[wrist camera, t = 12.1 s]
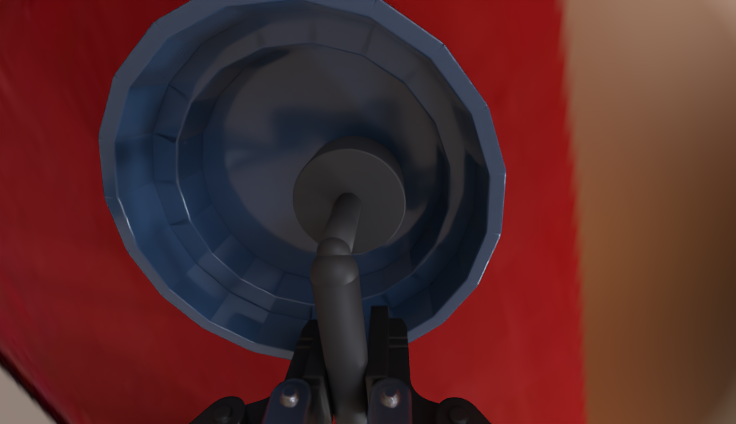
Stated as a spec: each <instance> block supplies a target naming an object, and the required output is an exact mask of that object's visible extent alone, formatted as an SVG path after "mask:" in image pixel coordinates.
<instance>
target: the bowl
mask: <svg viewBox="0 0 736 424" xmlns="http://www.w3.org/2000/svg"><path fill="white" fill-rule="evenodd" d="M346 136H361V137H366V138H370V139H372V140H375V141H377V142H378V143H380V144H382V145H383V146H385V147H386V148H387V149H388V150H389V151H390V152H391V153H392V154H393V155H394V157H395V158H396V159H397V161H398V163H399V165H400V167H401V170H402V173H403V179H404V189H405V199H406V209H405V214H404V218H403V221H402V223H401V225H400V227H399V229H398V230H397V232H396V233H395V234H394V235H393V236H392V238H391V239H389V240H388V241H387V242H386V243H384V244H383V245H381V246H380V247H378V248H376V249H373V250H370V251H368V252H363V253H355V254H351V255H352V257H353V258H354V259H355V261H356V263H357V265H358V270H359V279H360V288H361V297H362V307H363V316H364V325H365V335H366V344H367V350H368V338H369V325H370V313H371V306H380V305H388V306H389V318H402V320H403V321H404V323H405V324H406V326H407V334H408V343H410V342H412V341H414V340H415V339H417V338H419V337H421V336H422V335H424V334H426V333H427V332H429V331H431V330H433V329H434V328H436V327H438V326H439V325H441V324H442V323H444V322H445V321H446V320H447V318H448V317H449V316H450V315H451V314H452V313H453V312H454V311H455V310H456V309H457V308H458V307H459V305H460V304H461V303H462V302H463V301H464V300H465V299H466V298H467V297H468V296H469V295H470V294H471V292H472V291H473V290H474V289H475V288H476V287H477V286H478V284H479V282H480V280H481V278H482V276H483V274H484V271H485V269H486V267H487V265H488V262H489V260H490V258H491V256H492V253H493V251H494V249H495V247H496V245H497V242H498V240H499V238H500V236H501V234H500V233H501V232H502V220H503V208H504V195H505V183H506V168H505V165H504V161H503V157H502V154H501V150H500V146H499V143H498V139H497V136H496V132H495V128H494V125H493V121H492V117H491V114H490V110H489V107H488V106H487V103H486V102H485V100H484V99H483V98H482V96H481V95H480V93H479V92H478V91H477V89H476V88H475V86H474V85H473V83H472V82H471V81H470V79H469V78H468V76H467V75H466V73H465V72H464V71H463V69H462V68H461V66H460V65H459V64H458V62H457V61H456V59H455V58H454V56H453V55H452V54H451V52H450V51H449V49H448V48H447V46H446V45H445V44H443V42H442V41H440V40H439V39H437V38H436V37H435V36H433V35H432V34H430V33H429V32H427V31H426V30H425V29H423V28H422V27H420V26H419V25H418V24H416V23H415V22H413V21H412V20H410V19H409V18H408V17H406V16H405V15H403V14H402V13H400V12H399V11H398V10H396V9H395V8H393V7H392V6H390V5H389V4H388V3H386V2H385V1H383V0H190V1H189V2H187V3H185V4H183V5H182V6H180V7H178V8H176V9H175V10H173V11H171V12H169V13H168V14H166V15H164V16H162V17H161V18H159V19H157V20H156V21H155V22H153V23H152V25H151V26H150V28H149V29H148V30H147V32H146V33H145V34H144V36H143V37H142V38H141V40H140V41H139V42H138V44H137V45H136V46H135V48H134V49H133V50H132V52H131V53H130V54H129V56H128V57H127V58H126V60H125V61H124V62H123V64H122V65H121V66H120V68H119V69H118V70H117V72H116V73H115V76H114V77H113V80H112V84H111V88H110V92H109V96H108V99H107V103H106V107H105V111H104V115H103V119H102V123H101V127H100V131H99V135H98V137H99V138H98V140H99V151H100V161H101V171H102V182H103V192H104V197H105V201H106V203H107V205H108V208H109V210H110V213H111V215H112V217H113V220H114V222H115V224H116V227H117V229H118V232H119V234H120V236H121V239H122V241H123V243H124V246H125V248H126V250H128V251H127V252H128V254H129V255H130V256H131V257H132V259H133V260H134V261H135V262H136V264H137V265H138V266H139V268H140V269H141V270H142V271H143V273H144V274H145V275H146V277H147V278H148V279H149V280H150V282H151V283H152V284H153V286H154V287H155V288H156V289H157V291H158V292H159V293H160V294H161V295H162V296H163V297H164V298H165V299H166V300H168V301H169V302H170V303H171V304H173V305H174V306H175V307H176V308H178V309H179V310H180V311H182V312H183V313H184V314H185V315H187V316H188V317H189V318H190V319H192V320H193V321H194V322H195V323H197V324H198V325H199V326H201V327H202V328H204V329H205V330H207V331H209V332H212V333H214V334H216V335H218V336H220V337H222V338H224V339H226V340H228V341H231V342H233V343H235V344H237V345H239V346H241V347H243V348H245V349H247V350H250V351H252V352H256V353H261V354H265V355H270V356H274V357H279V358H283V359H288V360H292V357H293V354H294V351H295V349H296V345H297V342H298V341H299V336H300V333H301V330H302V328H303V327H304V326H305V325H306V323H307V322H308V321H309V320H314V319H317V315H316V310H315V304H314V298H313V293H312V287H311V281H310V267H311V264H312V262H313V260H314V259H315V258H316V256H317V254H316V251H317V247H318V243H317V242H315V241H314V240H313V239H312V238H311V237H310V236H309V235H308V234H307V233H306V232H305V231H304V230H303V228H302V227H301V225H300V223H299V221H298V219H297V217H296V214H295V211H294V207H293V190H294V185H295V182H296V180H297V178H298V175H299V174H300V172H301V171H302V169H303V168H304V167H305V165H306V164H307V163H308V162H309V161H310V160H311V158H312V157H313V156H314V155H315V154H316V153H317V151H318V150H319V149H320V148H322V147H323V146H324V145H325V144H327V143H329V142H330V141H332V140H335V139H337V138H341V137H346Z"/></svg>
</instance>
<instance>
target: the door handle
mask: <svg viewBox="0 0 736 424" xmlns="http://www.w3.org/2000/svg"><path fill="white" fill-rule="evenodd" d="M293 207H294V211H295V214H296V217H297V219H298V221H299V223H300V225H301V227H302V228H303V230H304V231H305V232H306V233H307V234H308V235H309V236H310V237H311V238H312V239H313V240H314V241H315V242H317V243H318V247H317V251H316V254H317V256H316V258H315V259H314V260H313V262H312V264H311V267H310V281H311V287H312V293H313V298H314V304H315V310H316V315H317V321H318V327H319V332H320V338H321V344H322V349H323V355H324V361H325V366H326V372H327V378H328V383H329V389H330V395H331V400H332V406H333V412H334V417H335V423H336V424H367V415H368V398H367V389H366V380H365V374H366V366H367V364H368V353H367V344H366V335H365V325H364V316H363V307H362V297H361V288H360V279H359V270H358V265H357V263H356V261H355V259H354V258H353V257H352V255H351V254H355V253H363V252H368V251H370V250H373V249H376V248H378V247H380V246H381V245H383V244H384V243H386V242H387V241H388V240H389V239H391V238H392V236H393V235H394V234H395V233H396V232H397V230H398V229H399V227H400V225H401V223H402V221H403V218H404V214H405V209H406V199H405V189H404V179H403V173H402V170H401V167H400V165H399V163H398V161H397V159H396V158H395V157H394V155H393V154H392V153H391V152H390V151H389V150H388V149H387V148H386V147H385V146H383V145H382V144H380V143H378V142H377V141H375V140H372V139H370V138H366V137H361V136H346V137H341V138H337V139H335V140H332V141H330V142H329V143H327V144H325V145H324V146H323V147H322V148H320V149H319V150H318V151H317V153H316V154H315V155H314V156H313V157H312V158H311V160H310V161H309V162H308V163H307V164H306V165H305V167H304V168H303V169H302V171H301V172H300V174H299V175H298V178H297V180H296V182H295V185H294V190H293Z"/></svg>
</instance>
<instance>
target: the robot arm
mask: <svg viewBox="0 0 736 424" xmlns="http://www.w3.org/2000/svg"><path fill="white" fill-rule="evenodd" d="M367 353H368V364H367V366H366V374H365V380H366V389H367V398H368V415H367V424H491V423H490V422H489V421H488V420H487V419H486V418H485V417H484V415H483V414H482V413H481V412H480V411H479V410H478V409H477V408H476V407H475V406H474V405H473V404H472V403H470V402H469V401H467V400H465V399H462V398H457V397H452V398H447V399H445V400H443V401H442V402H440V404H439V403H435V402H432V401H429V400H427V399H425V398H423V397H421V396H420V395H419V394H418V393H417V392H416V391H415V390H414V389H413V387H412V384H411V380H410V366H409V350H408V334H407V326H406V324H405V323H404V321H403V320H402V318H389V306H388V305H380V306H371V313H370V325H369V338H368V350H367ZM333 415H334V412H333V406H332V400H331V395H330V389H329V383H328V378H327V372H326V366H325V361H324V355H323V349H322V344H321V338H320V332H319V327H318V321H317V319H314V320H309V321H308V322H307V323H306V325H305V326H304V327H303V328H302V330H301V333H300V336H299V341H298V342H297V345H296V349H295V351H294V354H293V357H292V360H291V363H290V366H289V369H288V372H287V375H286V378H285V380H284V381H283V382H281V383H280V384H279V385H278V386H277V387H276V388H275V389H274V390H273V392H272V393H271V396H270V397H268V398H266V399H263V400H260V401H257V402H254V403H250V404H247V405H245V404H244V402H243V401H242V399H240V398H239V397H235V396H229V397H224V398H221V399H219V400H217V401H216V402H214V403H213V404H212V405H210V406H209V407H208V408H207V409H206V410H204V411H203V412H202V413H201V414H200V415H199V416H197V417H196V418H195V419H194V420H193V421H192V422H190V423H189V424H332V421H333Z"/></svg>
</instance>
